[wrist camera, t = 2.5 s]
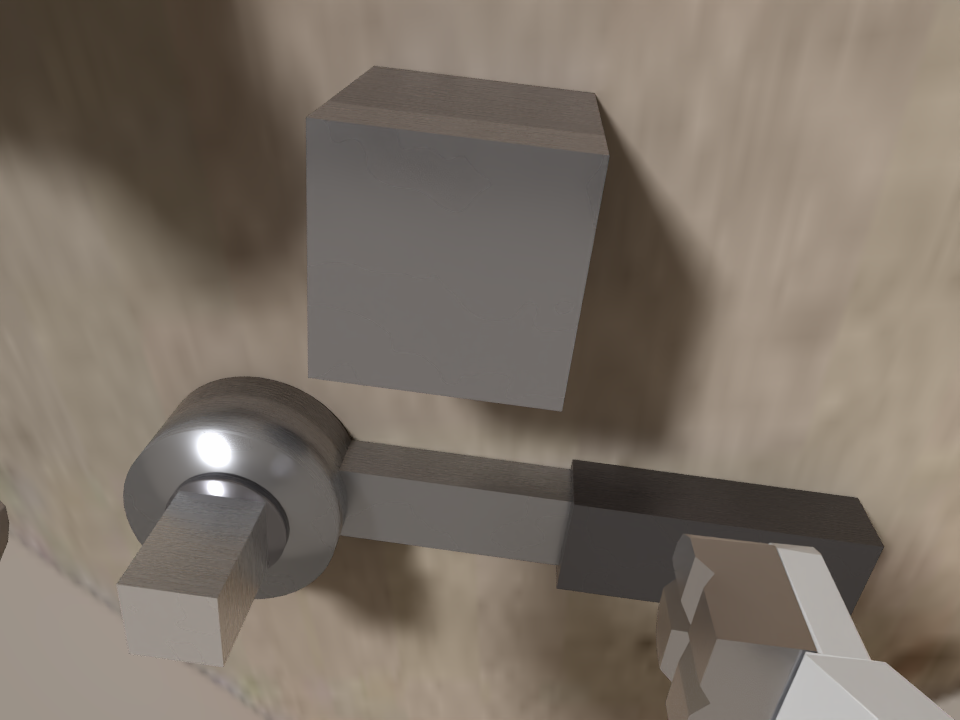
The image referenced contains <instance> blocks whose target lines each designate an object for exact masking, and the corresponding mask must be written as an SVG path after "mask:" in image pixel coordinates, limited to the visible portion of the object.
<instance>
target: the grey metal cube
mask: <svg viewBox="0 0 960 720" xmlns="http://www.w3.org/2000/svg"><path fill="white" fill-rule="evenodd" d="M609 156H610V155H609V151H608V147H607V142H606V138H605V134H604V130H603V126H602V122H601V117H600V113H599V109H598V105H597V101H596V97H595V93H588V92H580V91H572V90H564V89H556V88H548V87H540V86H532V85H524V84H515V83H507V82H499V81H491V80H483V79H475V78H467V77H459V76H451V75H443V74H435V73H426V72H418V71H410V70H402V69H394V68H386V67H378V66H373V67H372V68H371V69H369V70H368V71H367V72H365V73H364V74H363V75H361V76H360V77H359V78H358V79H356V80H355V81H354V82H352V83H351V84H350V85H348V86H347V87H346V88H344V89H343V90H342V91H340V92H339V93H338V94H336V95H335V96H334V97H332V98H331V99H330V100H328V101H327V102H326V103H324V104H323V105H322V106H320V107H319V108H318V109H316V110H315V111H314V112H313V113H311V114H310V115H309V116H307V117H306V182H307V300H308V378H314V379H321V380H329V381H336V382H344V383H351V384H359V385H366V386H374V387H381V388H389V389H396V390H404V391H411V392H419V393H426V394H434V395H441V396H449V397H456V398H464V399H471V400H479V401H486V402H494V403H501V404H509V405H516V406H524V407H531V408H539V409H546V410H554V411H561V412H562V409H563V403H564V398H565V392H566V387H567V382H568V376H569V371H570V366H571V360H572V355H573V350H574V344H575V339H576V333H577V328H578V323H579V317H580V312H581V307H582V301H583V296H584V290H585V285H586V280H587V274H588V269H589V264H590V258H591V253H592V248H593V242H594V237H595V231H596V226H597V221H598V215H599V210H600V205H601V199H602V194H603V189H604V183H605V178H606V172H607V167H608V162H609Z"/></svg>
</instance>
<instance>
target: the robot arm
mask: <svg viewBox="0 0 960 720" xmlns="http://www.w3.org/2000/svg"><path fill="white" fill-rule="evenodd" d="M8 534H9V519H8V515H7V511H6V506H5V505H4V504H3V503H2V502H1V501H0V560H1V558H2V555H3V553H4V550H5V548H6V545H7V543H8ZM672 561H673V566H674V571H675V576H676V579H675V580H673V581H672V582H671V583H669V584H668V585H666V586H665V587H664V588H663V592H662V596H661V600H660V604H659V607H658V615H657V625H656V645H657V655H658V661H659V668H660V670H661V671H662V672H663V673H664V674H665V675H666V676H667V678H668V679H669V680H670V681H671V682H672V683H671V686H670V690H669V693H668V696H667V699H666V702H665V703H666V709H667V715H668V720H955V719H953V718H952V717H951V716H950V715H949V714H947V713H946V712H945V711H944V710H943V709H941V708H940V707H939V706H938V705H937V704H935V703H934V702H933V701H932V700H931V699H929V698H928V697H927V696H926V695H924V694H923V693H922V692H921V691H920V690H918V689H917V688H916V687H915V686H914V685H912V684H911V683H910V682H909V681H908V680H906V679H905V678H904V677H903V676H902V675H900V674H899V673H898V672H897V671H896V670H894V669H893V668H892V667H891V666H889V665H888V664H887V663H886V662H880V661H873V660H871V658H870V656H869V654H868V652H867V649H866V647H865V645H864V643H863V641H862V639H861V637H860V635H859V633H858V631H857V629H856V626H855V624H854V622H853V620H852V618H851V616H850V614H849V612H848V610H847V608H846V606H845V603H844V601H843V599H842V597H841V595H840V593H839V591H838V589H837V587H836V585H835V583H834V580H833V578H832V576H831V574H830V572H829V570H828V568H827V566H826V564H825V562H824V559H823V557H822V555H821V553H820V552H818V551H817V550H816V549H815V548H814V547H808V546H798V545H788V544H778V543H769V544H766V543H759V542H750V541H742V540H733V539H725V538H716V537H708V536H699V535H691V534H682V536H681V538H680V539H679V541H678V542H677V545H676V548H675V552H674V555H673V558H672Z"/></svg>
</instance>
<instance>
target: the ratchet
mask: <svg viewBox="0 0 960 720" xmlns="http://www.w3.org/2000/svg"><path fill="white" fill-rule="evenodd" d="M123 498H124V508H125V512H126V516H127V519H128V521H129V524H130V526H131V528H132V530H133V532H134V534H135V536H136V537H137V539H138V540H139V542H140V543H141V544H142V547H141V548H140V550H139V551H138V553H137V554H136V556H135V557H134V559H133V560H132V562H131V563H130V565H129V566H128V568H127V569H126V571H125V572H124V574H123V575H122V577H121V578H120V580H119V581H118V583H117V584H116V585H117V591H118V596H119V602H120V607H121V613H122V618H123V624H124V629H125V635H126V640H127V646H128V651H129V654H134V655H142V656H149V657H155V658H162V659H169V660H176V661H183V662H190V663H198V664H205V665H212V666H219V667H224V665H225V663H226V661H227V658H228V656H229V654H230V652H231V650H232V647H233V645H234V643H235V641H236V638H237V636H238V634H239V632H240V629H241V627H242V625H243V623H244V621H245V618H246V616H247V614H248V612H249V609H250V607H251V605H252V603H253V601H254V599H265V598H274V597H278V596H283V595H287V594H290V593H292V592H295V591H297V590H299V589H301V588H303V587H305V586H307V585H308V584H310V583H311V582H313V581H314V580H315V579H316V578H317V577H318V576H319V575H321V574H322V572H323V571H324V570H325V568H326V567H327V566H328V564H329V562H330V560H331V558H332V556H333V553H334V550H335V548H336V545H337V542H338V539H339V536H340V535H342V536H349V537H357V538H364V539H371V540H378V541H386V542H393V543H400V544H407V545H414V546H422V547H429V548H436V549H443V550H451V551H458V552H465V553H472V554H480V555H487V556H494V557H501V558H509V559H516V560H523V561H530V562H538V563H545V564H552V565H556V588H557V589H564V590H571V591H578V592H585V593H593V594H600V595H607V596H614V597H621V598H629V599H636V600H643V601H650V602H657V603H660V600H661V596H662V592H663V588H664V587H665V586H666V585H668V584H669V583H671V582H672V581H673V580H675V579H676V576H675V571H674V566H673V561H672V558H673V555H674V552H675V548H676V545H677V542H678V541H679V539H680V538H681V536H682V534H691V535H699V536H708V537H716V538H725V539H733V540H742V541H750V542H759V543H766V544H769V543H778V544H788V545H798V546H808V547H814V548H815V549H816V550H817V551H818V552H820V553H821V555H822V557H823V559H824V562H825V564H826V566H827V568H828V570H829V572H830V574H831V576H832V578H833V580H834V583H835V585H836V587H837V589H838V591H839V593H840V595H841V597H842V599H843V601H844V603H845V606H846V608H847V610H848V612H849V614H850V616H851V614H852V612H853V610H854V608H855V606H856V603H857V601H858V599H859V597H860V595H861V593H862V591H863V589H864V587H865V585H866V583H867V581H868V579H869V577H870V575H871V572H872V570H873V568H874V566H875V564H876V562H877V560H878V558H879V556H880V554H881V552H882V550H883V548H884V546H883V544H882V542H881V541H880V539H879V537H878V535H877V533H876V531H875V529H874V527H873V526H872V524H871V522H870V520H869V518H868V516H867V514H866V512H865V510H864V509H863V507H862V505H861V503H860V501H859V499H858V498H854V497H846V496H839V495H832V494H824V493H817V492H809V491H802V490H795V489H787V488H780V487H772V486H765V485H758V484H750V483H743V482H735V481H728V480H720V479H713V478H706V477H698V476H691V475H683V474H676V473H669V472H661V471H654V470H646V469H639V468H631V467H624V466H617V465H609V464H602V463H594V462H587V461H580V460H572V465H571V470H570V469H562V468H555V467H548V466H540V465H533V464H525V463H518V462H511V461H503V460H496V459H488V458H481V457H474V456H466V455H459V454H451V453H444V452H437V451H429V450H422V449H414V448H407V447H400V446H392V445H385V444H377V443H370V442H363V441H355V440H351V438H350V436H349V435H348V433H347V431H346V430H345V428H344V427H343V425H342V424H341V423H340V421H339V420H338V419H337V418H336V417H335V416H334V415H333V414H332V412H330V411H329V410H328V409H327V408H326V407H325V406H324V405H322V404H321V403H320V402H318V401H317V400H316V399H314V398H313V397H311V396H310V395H308V394H306V393H304V392H302V391H301V390H299V389H297V388H294V387H292V386H289V385H287V384H284V383H281V382H278V381H274V380H270V379H265V378H259V377H231V378H224V379H220V380H216V381H213V382H210V383H208V384H205V385H203V386H201V387H199V388H198V389H196V390H195V391H193V392H192V393H190V394H189V395H188V396H187V397H186V398H185V399H184V400H183V401H182V402H181V403H180V405H179V406H178V407H177V408H176V410H175V411H174V412H173V413H172V415H171V416H170V417H169V418H168V420H167V421H166V422H165V424H164V425H163V426H162V427H161V429H160V430H159V431H158V432H157V434H156V435H155V436H154V437H153V439H152V440H151V441H150V442H149V444H148V445H147V446H146V448H145V449H144V450H143V451H142V453H141V454H140V455H139V456H138V458H137V459H136V460H135V462H134V463H133V464H132V466H131V468H130V470H129V472H128V474H127V477H126V480H125V484H124V493H123Z"/></svg>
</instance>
